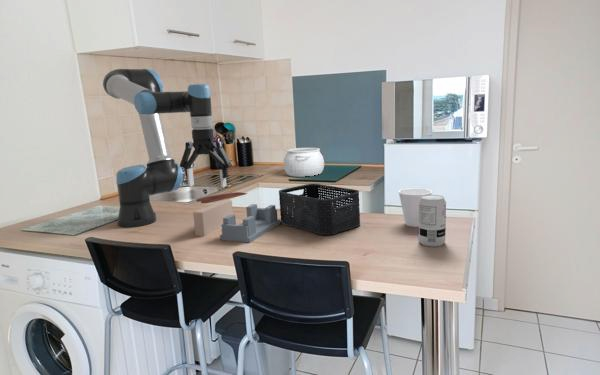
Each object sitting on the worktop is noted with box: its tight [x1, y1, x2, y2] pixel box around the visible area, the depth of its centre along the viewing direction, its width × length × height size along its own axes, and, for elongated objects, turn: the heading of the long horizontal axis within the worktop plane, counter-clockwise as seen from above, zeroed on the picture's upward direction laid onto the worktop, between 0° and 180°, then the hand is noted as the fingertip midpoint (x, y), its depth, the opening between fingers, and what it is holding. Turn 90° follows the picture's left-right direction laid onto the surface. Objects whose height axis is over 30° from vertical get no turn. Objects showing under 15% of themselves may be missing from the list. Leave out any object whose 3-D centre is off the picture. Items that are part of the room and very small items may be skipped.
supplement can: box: [417, 194, 447, 247], centre depth 135 cm, size 8×8×15 cm
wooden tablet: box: [196, 191, 248, 204], centre depth 220 cm, size 27×10×2 cm, turn 132°
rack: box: [219, 203, 281, 243], centre depth 158 cm, size 12×24×8 cm, turn 157°
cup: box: [398, 187, 433, 228], centre depth 156 cm, size 12×12×12 cm
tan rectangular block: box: [192, 199, 234, 237], centre depth 164 cm, size 4×20×9 cm, turn 157°
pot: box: [283, 147, 325, 178], centre depth 277 cm, size 29×26×16 cm
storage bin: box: [278, 183, 361, 236], centre depth 163 cm, size 29×19×13 cm
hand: (207, 186), depth 157 cm, fingers open, 13 cm apart
